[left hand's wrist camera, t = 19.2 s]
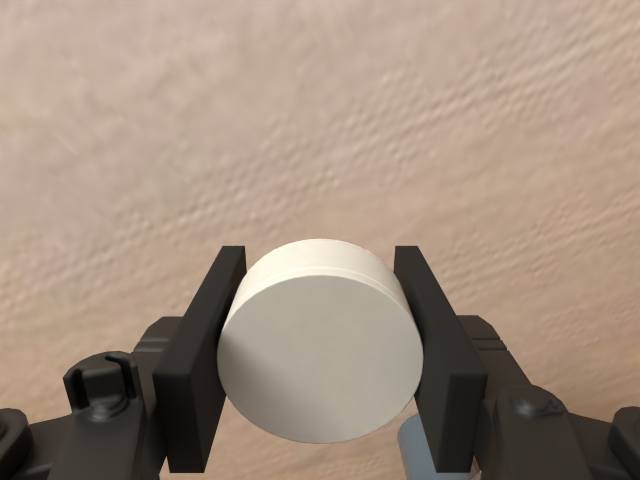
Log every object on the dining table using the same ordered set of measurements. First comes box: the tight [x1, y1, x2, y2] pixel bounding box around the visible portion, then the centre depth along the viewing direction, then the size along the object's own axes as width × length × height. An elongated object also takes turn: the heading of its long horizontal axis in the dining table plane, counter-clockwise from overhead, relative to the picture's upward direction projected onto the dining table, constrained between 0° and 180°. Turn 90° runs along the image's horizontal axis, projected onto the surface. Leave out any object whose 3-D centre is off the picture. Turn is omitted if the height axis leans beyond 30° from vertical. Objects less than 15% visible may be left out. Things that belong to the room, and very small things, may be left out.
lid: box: [217, 239, 424, 444], centre depth 11 cm, size 5×5×2 cm
